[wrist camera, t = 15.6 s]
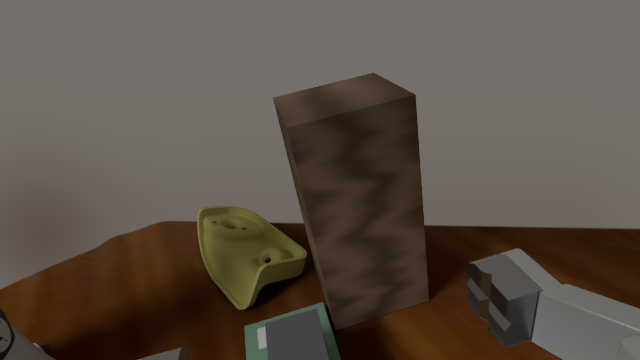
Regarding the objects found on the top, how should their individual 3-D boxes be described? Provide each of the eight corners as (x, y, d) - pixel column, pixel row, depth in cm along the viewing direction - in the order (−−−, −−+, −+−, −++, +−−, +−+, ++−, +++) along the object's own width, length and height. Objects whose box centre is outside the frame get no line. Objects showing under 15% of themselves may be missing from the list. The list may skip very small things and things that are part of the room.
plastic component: (314, 256, 54) (254, 268, 48) (303, 300, 56) (245, 318, 49) (245, 204, 68) (191, 208, 61) (238, 241, 70) (185, 248, 63)
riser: (335, 330, 45) (286, 127, 33) (316, 271, 55) (272, 97, 42) (429, 300, 46) (415, 94, 34) (394, 247, 56) (373, 72, 44)
